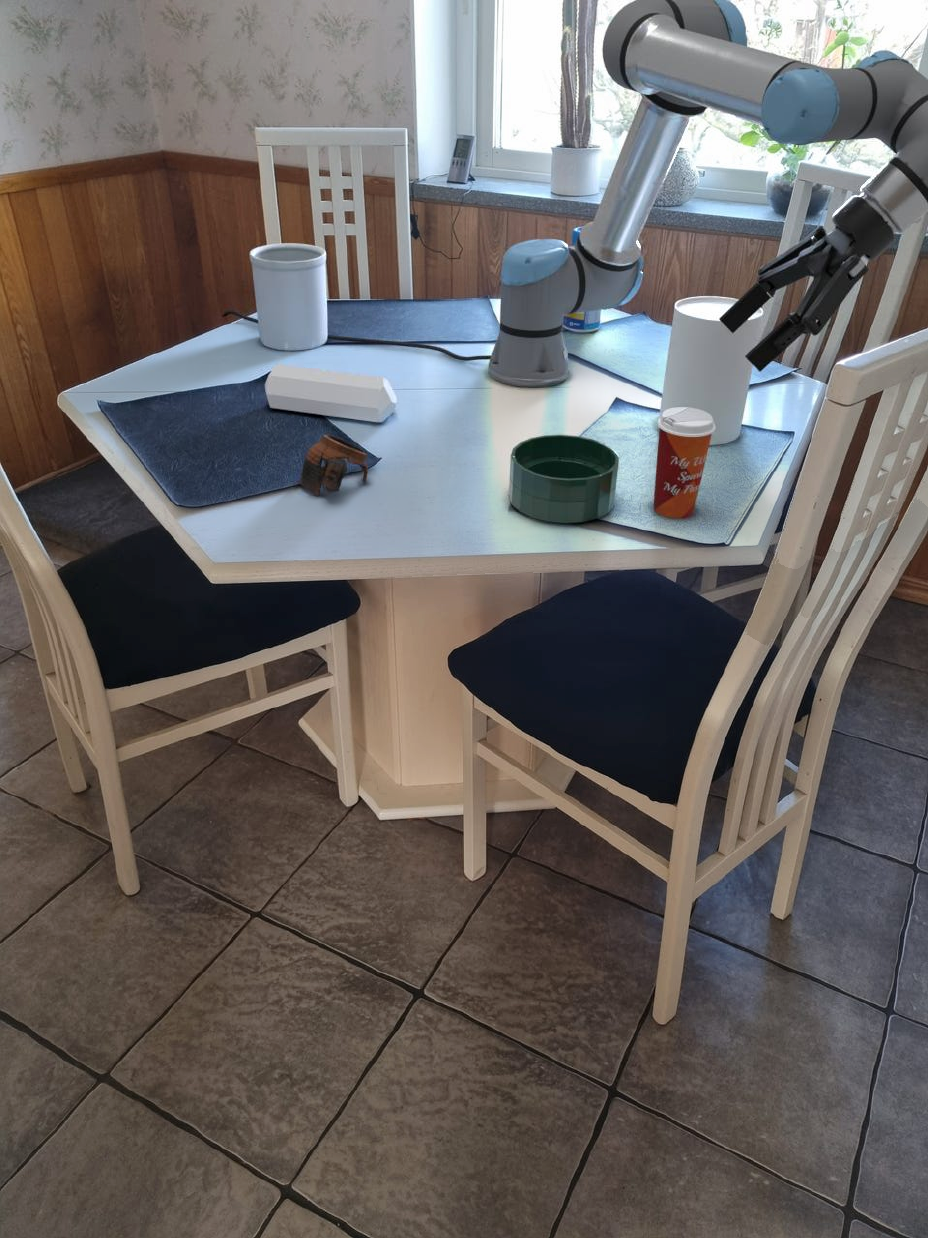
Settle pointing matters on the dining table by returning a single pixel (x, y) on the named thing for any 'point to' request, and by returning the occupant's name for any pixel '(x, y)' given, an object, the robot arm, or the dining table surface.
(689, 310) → the canister
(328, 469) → the leather tool belt
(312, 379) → the crystal
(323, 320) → the utensil holder
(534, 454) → the green pet bowl
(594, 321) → the beverage bottle
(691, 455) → the paper cup
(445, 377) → the dining table surface
